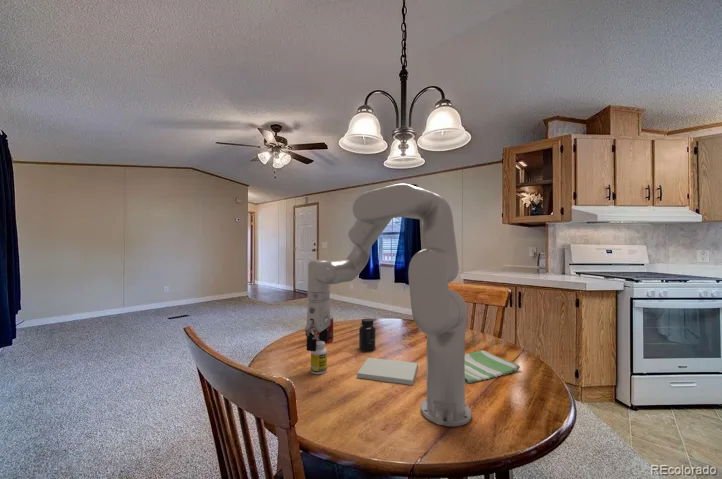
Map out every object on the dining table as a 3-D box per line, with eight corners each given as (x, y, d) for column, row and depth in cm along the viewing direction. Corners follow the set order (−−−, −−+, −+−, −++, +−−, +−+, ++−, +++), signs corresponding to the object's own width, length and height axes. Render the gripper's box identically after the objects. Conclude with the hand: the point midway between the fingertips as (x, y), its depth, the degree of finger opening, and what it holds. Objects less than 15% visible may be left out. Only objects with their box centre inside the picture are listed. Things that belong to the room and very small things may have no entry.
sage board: (412, 385, 94) (412, 380, 94) (357, 377, 99) (357, 373, 99) (417, 367, 107) (417, 363, 107) (368, 361, 112) (368, 357, 112)
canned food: (332, 344, 132) (332, 318, 132) (314, 344, 132) (314, 318, 132) (334, 338, 140) (334, 314, 140) (316, 338, 140) (316, 314, 140)
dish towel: (434, 364, 111) (434, 356, 111) (483, 355, 120) (483, 348, 120) (468, 385, 95) (468, 376, 95) (522, 373, 103) (522, 365, 103)
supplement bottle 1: (319, 376, 100) (319, 346, 100) (307, 372, 103) (307, 343, 103) (330, 370, 105) (330, 341, 105) (317, 366, 108) (317, 339, 108)
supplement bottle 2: (374, 352, 122) (374, 322, 122) (357, 351, 123) (357, 321, 123) (376, 346, 129) (376, 318, 129) (360, 345, 130) (360, 317, 130)
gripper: (318, 301, 95) (317, 356, 95) (337, 292, 112) (337, 339, 112) (296, 299, 97) (295, 353, 97) (319, 291, 114) (318, 337, 114)
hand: (317, 345), depth 104 cm, fingers open, 9 cm apart
